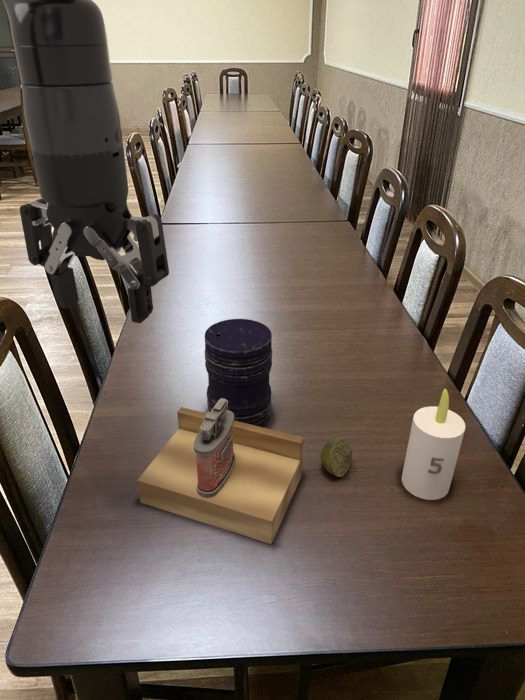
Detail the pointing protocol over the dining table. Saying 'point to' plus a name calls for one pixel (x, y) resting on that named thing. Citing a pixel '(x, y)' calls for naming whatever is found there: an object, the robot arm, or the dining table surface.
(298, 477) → the shelf
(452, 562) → the dining table surface
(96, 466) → the dining table surface
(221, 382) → the dark blue cylinder
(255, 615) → the dining table surface
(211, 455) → the lighter
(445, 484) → the candle
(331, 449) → the lime
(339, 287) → the dining table surface
